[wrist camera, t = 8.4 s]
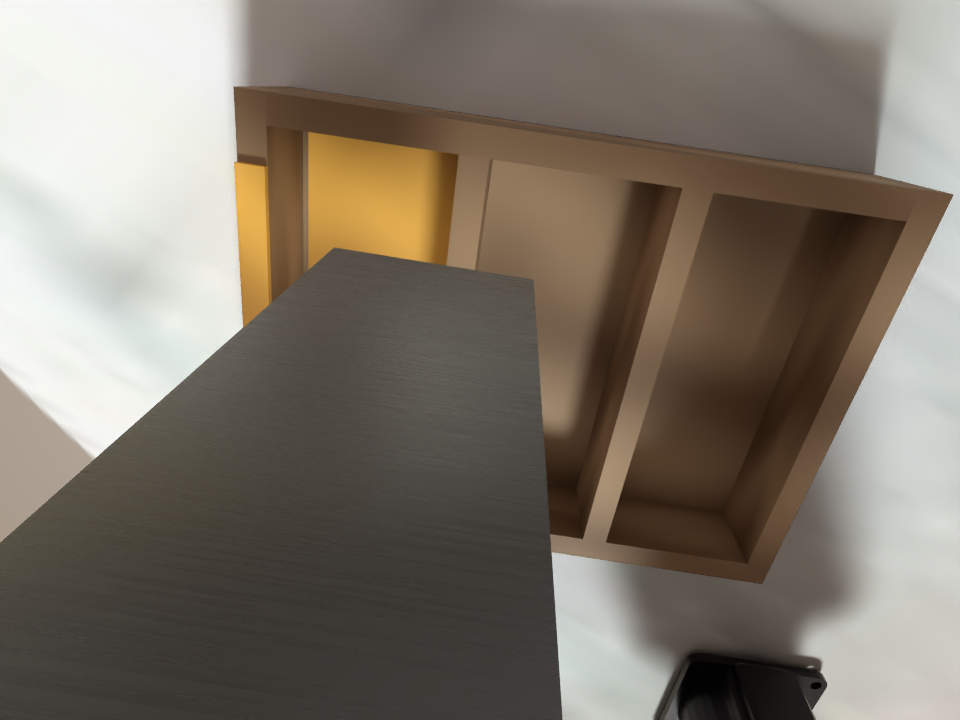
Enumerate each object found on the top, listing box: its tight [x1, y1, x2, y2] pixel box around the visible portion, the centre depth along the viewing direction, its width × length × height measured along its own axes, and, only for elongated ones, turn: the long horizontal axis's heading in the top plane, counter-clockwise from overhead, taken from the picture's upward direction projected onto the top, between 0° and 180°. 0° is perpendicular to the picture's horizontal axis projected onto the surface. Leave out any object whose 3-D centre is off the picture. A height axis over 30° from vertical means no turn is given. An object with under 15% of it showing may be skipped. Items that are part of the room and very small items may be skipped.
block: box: [0, 247, 562, 720], centre depth 8 cm, size 10×3×7 cm, turn 172°
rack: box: [234, 87, 953, 584], centre depth 19 cm, size 14×18×4 cm
